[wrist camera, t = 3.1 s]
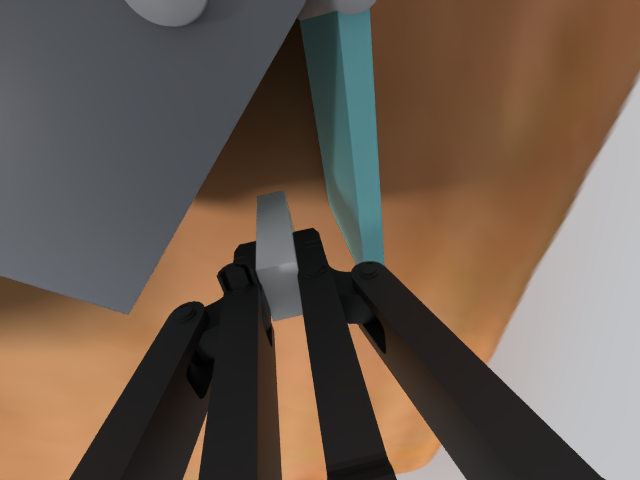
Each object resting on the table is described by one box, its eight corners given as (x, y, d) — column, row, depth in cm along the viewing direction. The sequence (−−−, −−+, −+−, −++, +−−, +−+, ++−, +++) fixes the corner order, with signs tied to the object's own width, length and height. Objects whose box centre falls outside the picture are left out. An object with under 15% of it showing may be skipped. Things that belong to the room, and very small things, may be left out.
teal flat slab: (324, 204, 24) (363, 295, 16) (288, -11, 17) (323, -54, 9) (352, 198, 24) (404, 285, 16) (328, -18, 17) (399, -67, 9)
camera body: (-8, 142, 19) (-301, 266, 9) (82, -195, 13) (-449, -910, 3) (167, 220, 23) (103, 361, 13) (292, -7, 17) (343, -60, 7)
